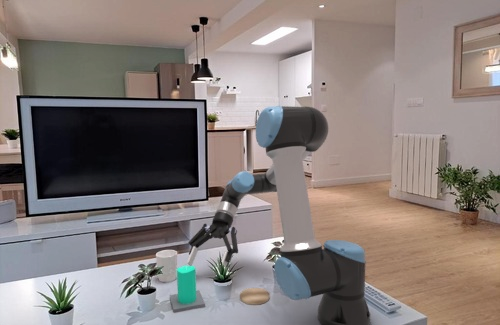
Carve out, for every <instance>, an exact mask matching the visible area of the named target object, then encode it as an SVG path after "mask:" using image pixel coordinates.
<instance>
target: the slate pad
mask: <svg viewBox="0 0 500 325" xmlns="http://www.w3.org/2000/svg"><path fill="white" fill-rule="evenodd" d="M169 299H170V305H171V307H172V311H173V313H179V312H184V311H189V310H190V311H191V310H193V309H194V310H196V309H200V308H206V302H205V300H204V298H203V296H202V293H201V292H200V290H199V289H198V290H197V289H196V300H195V301H194V302H192V303H189V304H183V303H180V302H179V301H178V293H176V294H175V293H174V294H170V295H169Z"/></svg>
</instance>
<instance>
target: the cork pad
mask: <svg viewBox="0 0 500 325" xmlns="http://www.w3.org/2000/svg"><path fill="white" fill-rule="evenodd" d="M239 299H240V301H241V302H242V303H243V304H246V305H251V306H256V305H257V306H258V305H259V306H260V305H263V304H266V303H267V302H269V300H270V292H269V291H268V289H267V290H266V289H264V288H261V287H251V288H246V289H244V290H242V291H241V292H240V293H239Z"/></svg>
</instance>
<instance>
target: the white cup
mask: <svg viewBox="0 0 500 325" xmlns="http://www.w3.org/2000/svg"><path fill="white" fill-rule="evenodd" d="M155 259H156V261H155V262H156V268H157V267H159V266H164V268H163V269H162V272H163V275H158V274H157V277H158V278H157V279H158V281H159V282H161V283H170V282H173V281H175V280H177V268H178V251H177V250H174V249H164V250H160V251H158V252H156V254H155Z"/></svg>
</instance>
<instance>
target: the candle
mask: <svg viewBox="0 0 500 325" xmlns="http://www.w3.org/2000/svg"><path fill="white" fill-rule="evenodd" d="M196 276H197V275H196V267H195V265H192V266H190V265H187V264H185V265H183V266H180V267H177V278H176V282H177V283H176V286H177V294H178V301H179V302H180V303H183V304H189V303H192V302H194V301H195V300H196V291H197V278H196Z"/></svg>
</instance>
